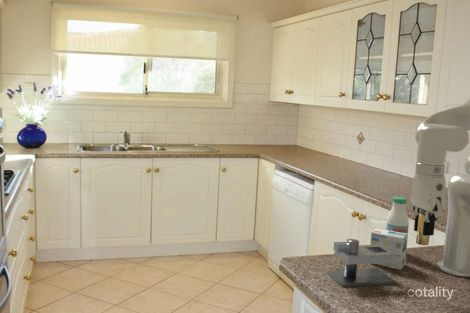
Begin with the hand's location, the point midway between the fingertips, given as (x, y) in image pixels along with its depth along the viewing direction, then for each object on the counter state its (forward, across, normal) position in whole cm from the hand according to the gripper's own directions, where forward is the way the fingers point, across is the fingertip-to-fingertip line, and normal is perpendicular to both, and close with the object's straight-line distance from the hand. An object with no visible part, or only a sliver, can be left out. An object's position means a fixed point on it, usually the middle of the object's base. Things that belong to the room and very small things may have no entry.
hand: (423, 232), depth 139 cm
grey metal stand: (+17, +9, +14) cm, 24 cm away
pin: (+3, 0, 0) cm, 3 cm away
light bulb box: (+17, +20, -2) cm, 26 cm away
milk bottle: (+17, +30, -11) cm, 36 cm away
